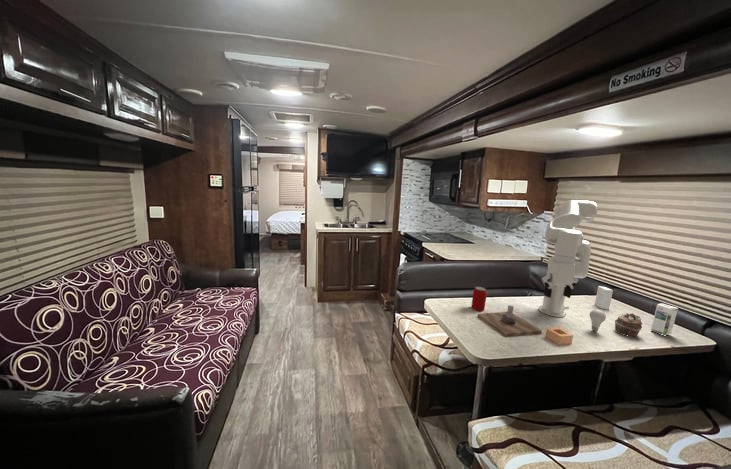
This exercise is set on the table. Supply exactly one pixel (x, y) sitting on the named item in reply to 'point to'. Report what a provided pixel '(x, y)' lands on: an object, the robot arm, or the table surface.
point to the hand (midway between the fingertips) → (556, 296)
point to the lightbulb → (597, 318)
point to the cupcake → (628, 324)
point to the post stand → (509, 323)
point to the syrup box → (664, 319)
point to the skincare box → (603, 297)
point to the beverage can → (479, 298)
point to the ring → (559, 336)
